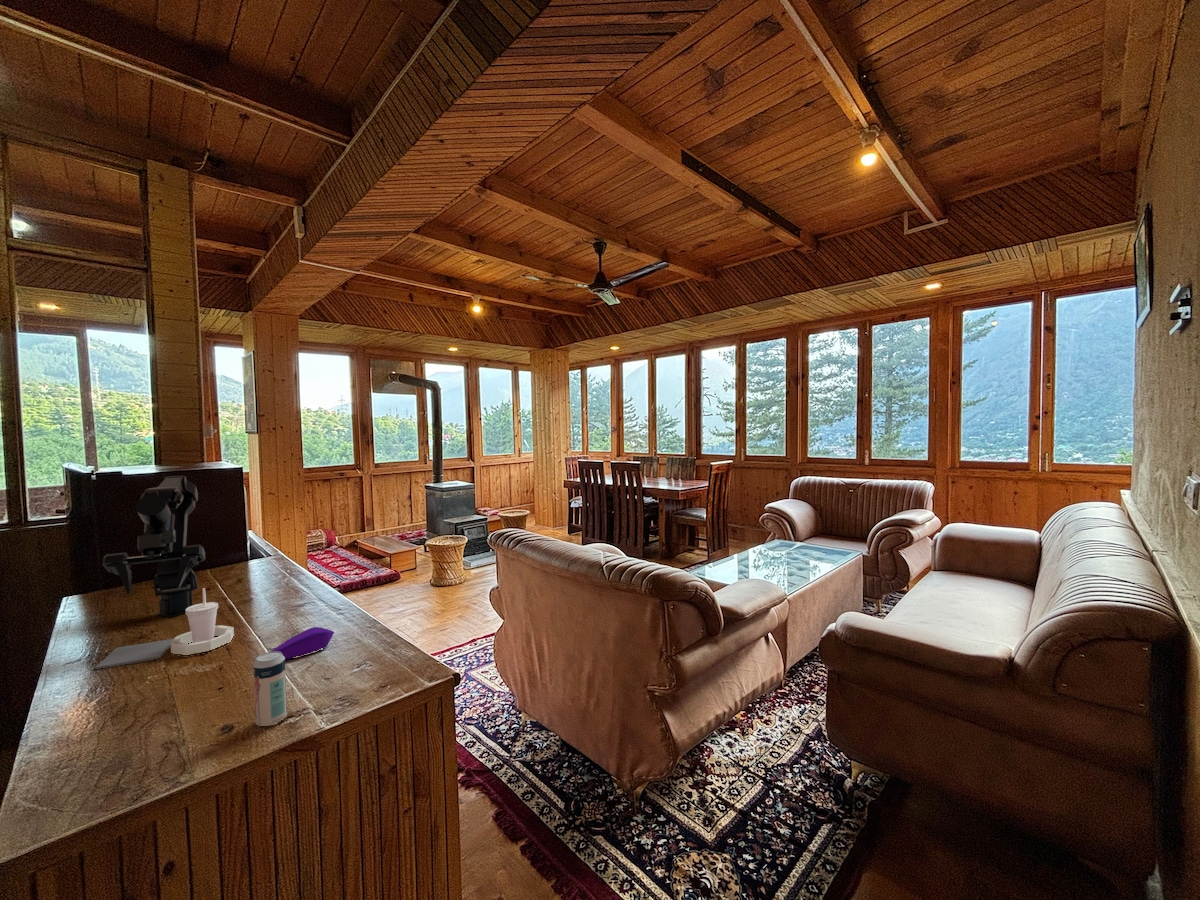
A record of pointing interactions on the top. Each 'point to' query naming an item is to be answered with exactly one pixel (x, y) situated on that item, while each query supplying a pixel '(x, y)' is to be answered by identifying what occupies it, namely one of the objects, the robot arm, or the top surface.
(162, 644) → the mat
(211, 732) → the top surface
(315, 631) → the purple tapered wedge
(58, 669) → the top surface
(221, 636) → the ring holder
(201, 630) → the smoothie
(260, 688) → the pill bottle
